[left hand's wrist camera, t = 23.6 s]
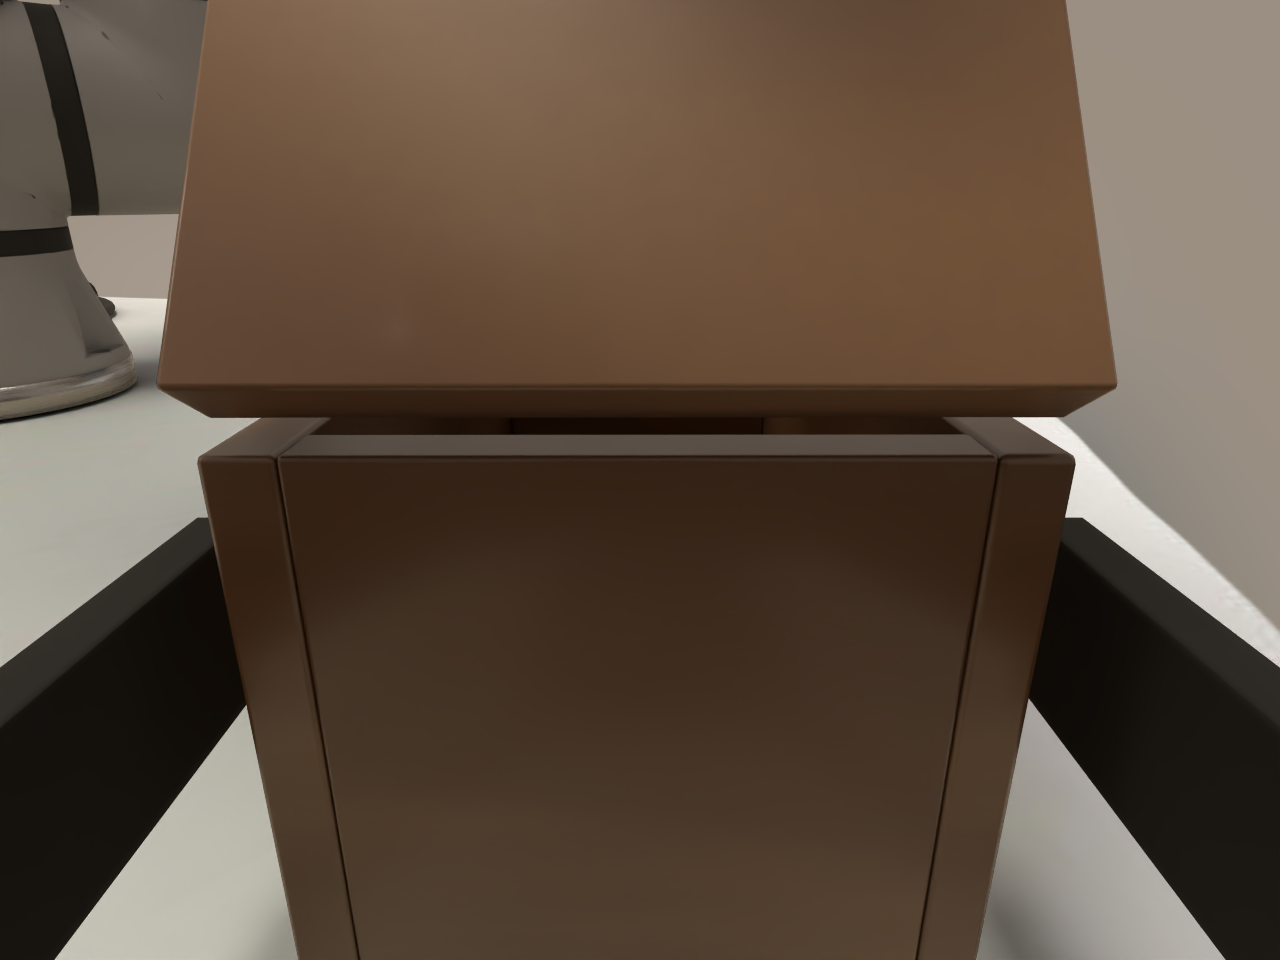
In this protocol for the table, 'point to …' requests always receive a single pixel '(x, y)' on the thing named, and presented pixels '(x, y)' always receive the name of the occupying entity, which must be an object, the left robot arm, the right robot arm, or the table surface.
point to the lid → (636, 212)
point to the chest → (637, 677)
